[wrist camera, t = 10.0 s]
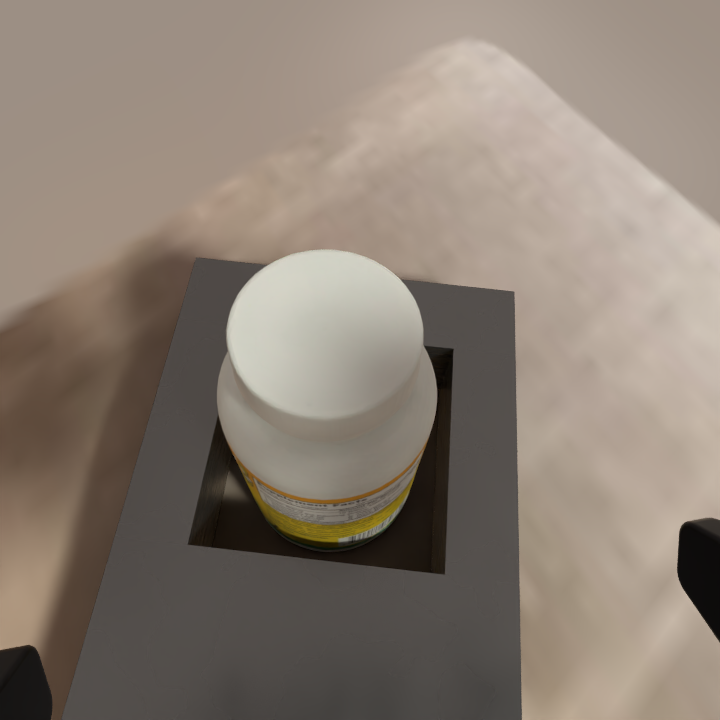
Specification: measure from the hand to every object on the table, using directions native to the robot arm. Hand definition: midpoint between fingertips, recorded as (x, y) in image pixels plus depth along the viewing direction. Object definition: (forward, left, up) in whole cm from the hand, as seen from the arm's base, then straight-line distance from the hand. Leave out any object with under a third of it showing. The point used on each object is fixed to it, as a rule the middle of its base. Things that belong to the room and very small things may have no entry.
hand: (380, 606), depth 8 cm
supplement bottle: (+5, +1, -11) cm, 13 cm away
